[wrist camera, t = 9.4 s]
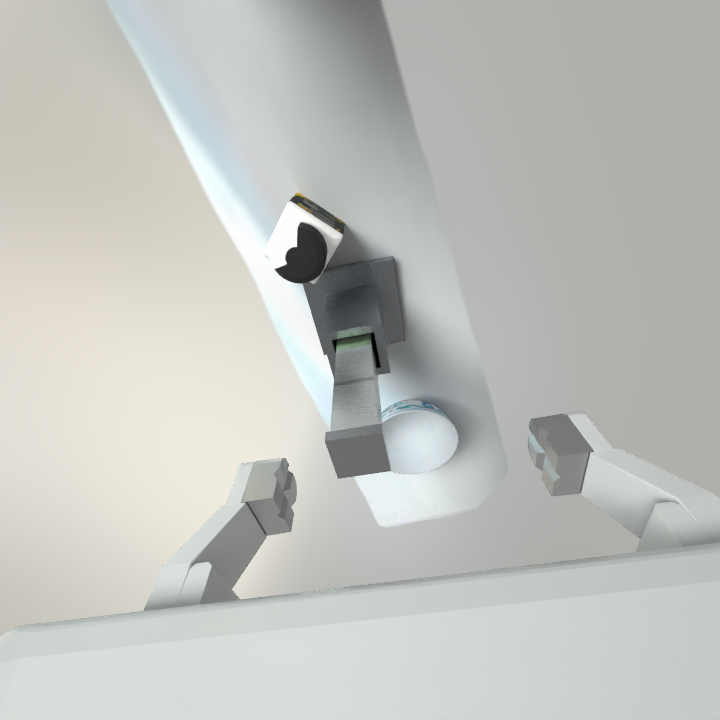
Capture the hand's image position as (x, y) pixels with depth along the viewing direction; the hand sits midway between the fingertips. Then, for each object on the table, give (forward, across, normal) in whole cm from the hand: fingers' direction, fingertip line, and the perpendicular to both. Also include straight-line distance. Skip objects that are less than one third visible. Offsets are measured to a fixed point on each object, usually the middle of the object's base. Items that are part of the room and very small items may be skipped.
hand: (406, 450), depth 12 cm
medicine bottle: (+41, +8, +1) cm, 42 cm away
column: (+34, +4, +13) cm, 36 cm away
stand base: (+41, +4, +13) cm, 43 cm away
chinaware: (+41, -1, +36) cm, 55 cm away
